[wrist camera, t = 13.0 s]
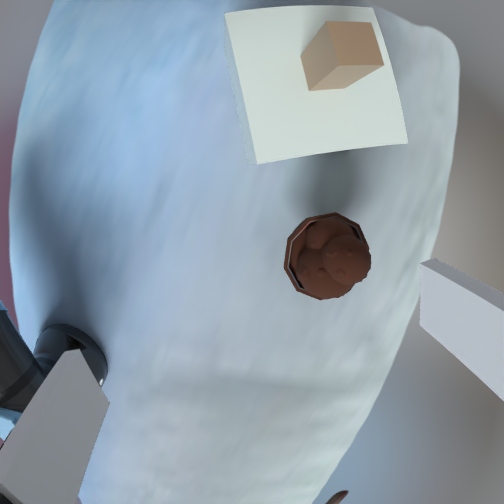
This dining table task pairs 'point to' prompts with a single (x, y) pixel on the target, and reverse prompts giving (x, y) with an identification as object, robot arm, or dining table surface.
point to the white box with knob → (311, 81)
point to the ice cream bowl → (327, 256)
